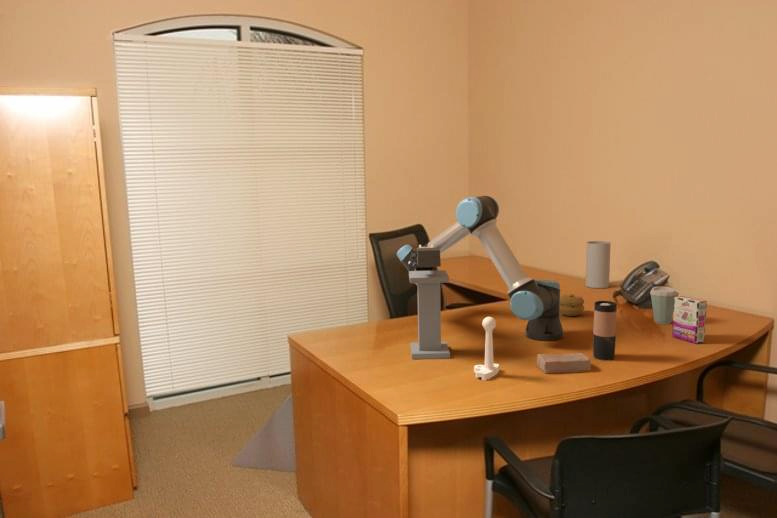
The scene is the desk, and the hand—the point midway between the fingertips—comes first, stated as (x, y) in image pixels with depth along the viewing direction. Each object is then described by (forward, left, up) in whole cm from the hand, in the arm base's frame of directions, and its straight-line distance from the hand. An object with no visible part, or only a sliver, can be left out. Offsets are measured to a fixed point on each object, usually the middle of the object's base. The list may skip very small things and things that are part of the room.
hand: (426, 247), depth 226 cm
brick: (-53, -11, -39) cm, 67 cm away
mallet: (-2, +2, -5) cm, 6 cm away
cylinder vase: (-1, -143, -39) cm, 149 cm away
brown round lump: (-20, -77, -39) cm, 89 cm away
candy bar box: (-73, -71, -39) cm, 109 cm away
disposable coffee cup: (-56, -90, -39) cm, 113 cm away
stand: (-6, +6, -39) cm, 40 cm away
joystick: (-36, +12, -39) cm, 54 cm away
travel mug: (-58, -30, -39) cm, 76 cm away
